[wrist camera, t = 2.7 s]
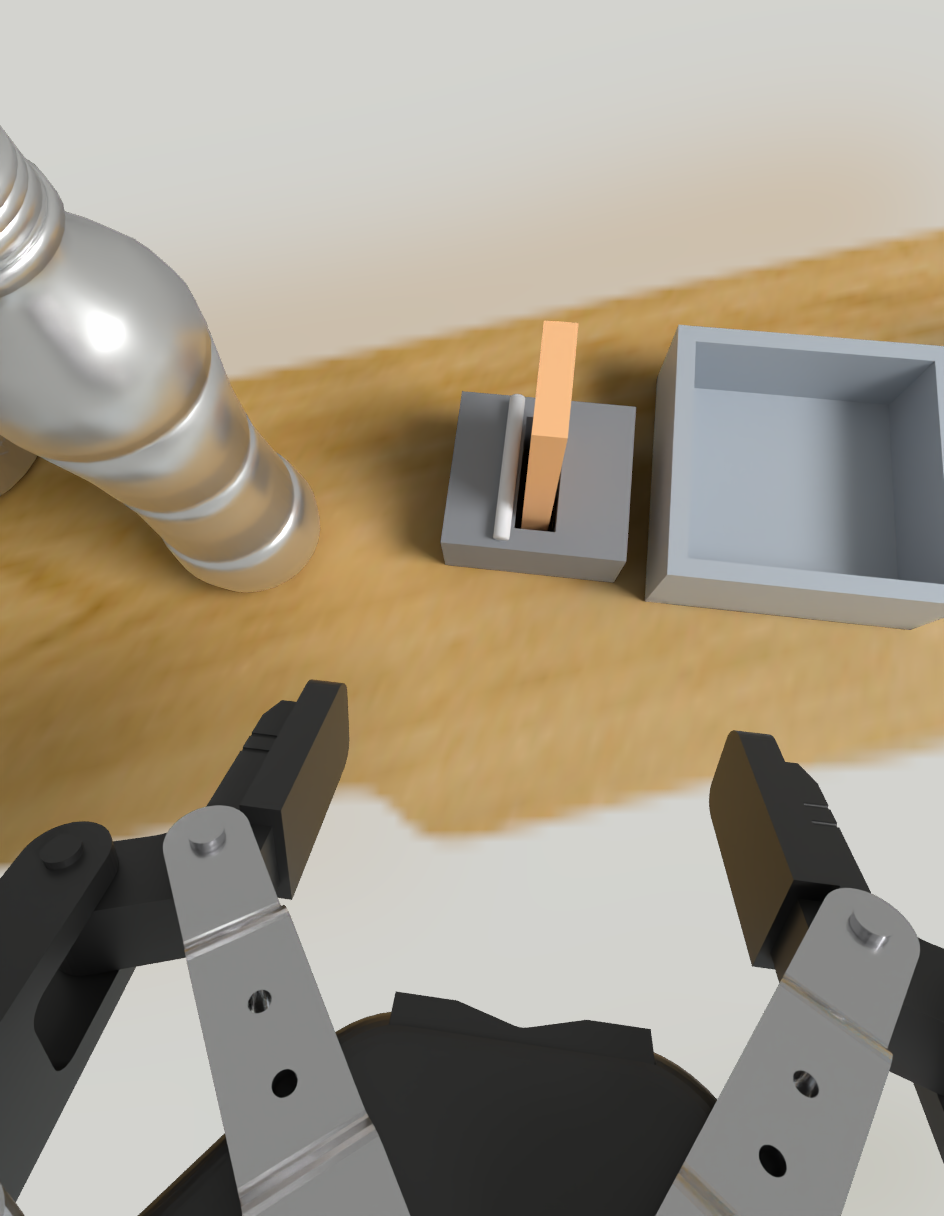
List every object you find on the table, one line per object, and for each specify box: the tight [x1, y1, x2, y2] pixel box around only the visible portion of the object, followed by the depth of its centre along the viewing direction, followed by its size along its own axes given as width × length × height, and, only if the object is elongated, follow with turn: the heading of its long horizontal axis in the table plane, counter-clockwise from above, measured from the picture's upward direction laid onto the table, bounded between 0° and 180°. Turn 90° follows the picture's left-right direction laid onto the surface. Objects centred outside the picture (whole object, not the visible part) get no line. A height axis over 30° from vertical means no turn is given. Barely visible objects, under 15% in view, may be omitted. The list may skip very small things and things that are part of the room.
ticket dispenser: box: [441, 391, 636, 583], centre depth 30 cm, size 8×8×4 cm
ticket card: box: [521, 320, 578, 531], centre depth 27 cm, size 1×4×10 cm, turn 173°
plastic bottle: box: [0, 126, 320, 593], centre depth 22 cm, size 6×7×20 cm
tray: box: [645, 325, 944, 630], centre depth 29 cm, size 12×12×4 cm
